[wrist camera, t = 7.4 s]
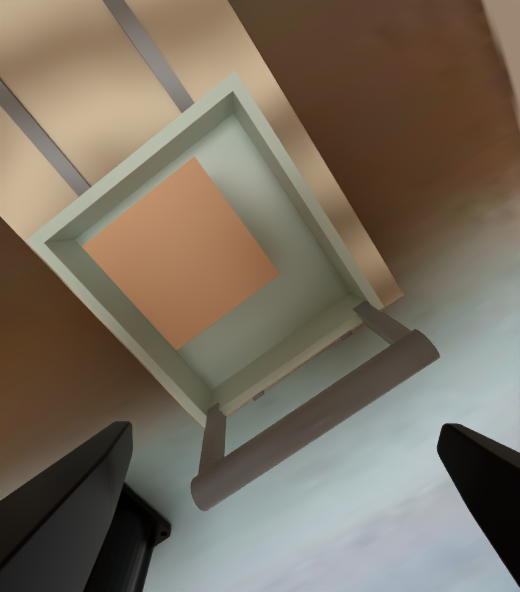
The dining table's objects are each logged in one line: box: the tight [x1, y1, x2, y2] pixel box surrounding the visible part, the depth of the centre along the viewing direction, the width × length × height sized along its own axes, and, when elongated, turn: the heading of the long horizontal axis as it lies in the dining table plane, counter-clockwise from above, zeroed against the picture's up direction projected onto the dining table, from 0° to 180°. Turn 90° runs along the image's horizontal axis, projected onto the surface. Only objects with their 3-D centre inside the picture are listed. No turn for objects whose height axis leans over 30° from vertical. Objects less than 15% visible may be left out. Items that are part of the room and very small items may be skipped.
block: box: [82, 156, 280, 351], centre depth 13 cm, size 5×5×5 cm
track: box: [0, 0, 404, 430], centre depth 15 cm, size 27×16×4 cm, turn 36°
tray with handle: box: [26, 71, 440, 511], centre depth 13 cm, size 12×11×9 cm
